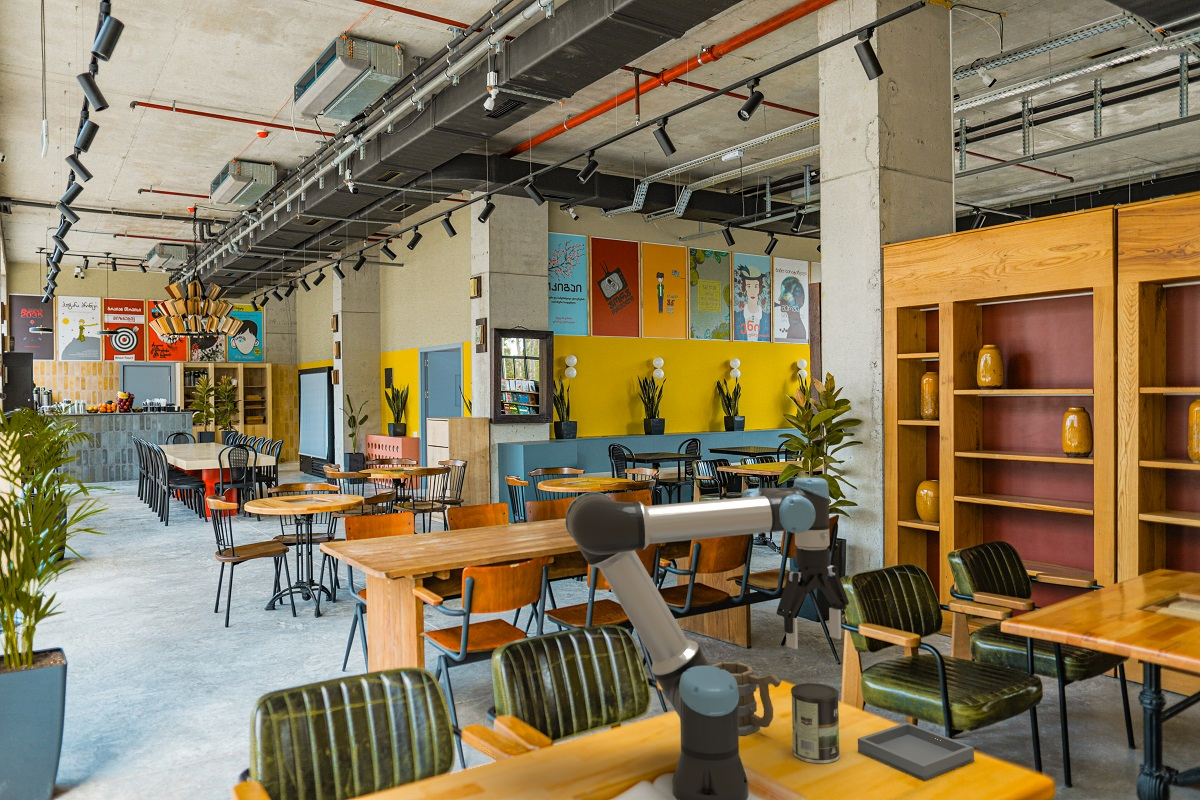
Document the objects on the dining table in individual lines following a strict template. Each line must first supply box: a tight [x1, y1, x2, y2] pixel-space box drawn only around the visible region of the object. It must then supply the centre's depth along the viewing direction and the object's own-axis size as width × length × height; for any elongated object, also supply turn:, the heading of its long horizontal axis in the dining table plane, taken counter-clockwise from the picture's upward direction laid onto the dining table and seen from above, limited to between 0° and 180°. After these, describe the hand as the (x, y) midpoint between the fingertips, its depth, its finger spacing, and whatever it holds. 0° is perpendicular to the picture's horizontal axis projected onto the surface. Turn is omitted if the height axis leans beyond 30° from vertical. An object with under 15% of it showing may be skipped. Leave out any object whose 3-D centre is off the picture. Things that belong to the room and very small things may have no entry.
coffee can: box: [790, 682, 841, 764], centre depth 178 cm, size 10×10×14 cm
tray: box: [857, 721, 975, 782], centre depth 176 cm, size 17×17×3 cm
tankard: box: [710, 661, 782, 736], centre depth 192 cm, size 20×13×15 cm, turn 42°
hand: (814, 642), depth 178 cm, fingers open, 13 cm apart
